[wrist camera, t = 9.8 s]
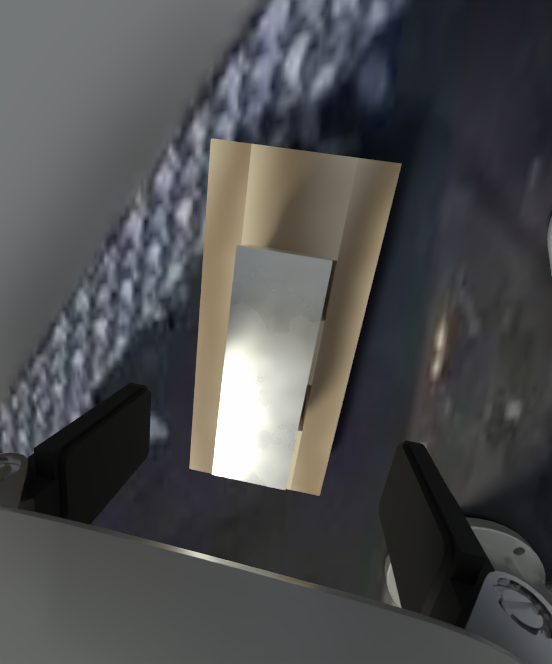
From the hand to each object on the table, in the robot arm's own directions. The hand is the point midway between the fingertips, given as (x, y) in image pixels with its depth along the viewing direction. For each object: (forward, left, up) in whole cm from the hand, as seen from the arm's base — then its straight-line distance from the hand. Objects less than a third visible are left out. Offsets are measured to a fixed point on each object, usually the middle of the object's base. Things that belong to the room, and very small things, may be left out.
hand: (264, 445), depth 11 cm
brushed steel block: (+1, -1, -11) cm, 11 cm away
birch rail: (+1, -1, -11) cm, 11 cm away
